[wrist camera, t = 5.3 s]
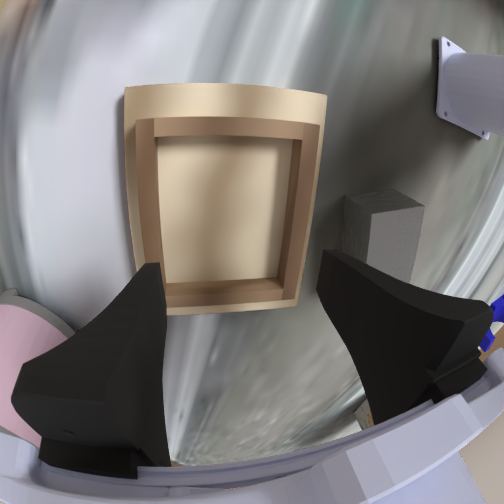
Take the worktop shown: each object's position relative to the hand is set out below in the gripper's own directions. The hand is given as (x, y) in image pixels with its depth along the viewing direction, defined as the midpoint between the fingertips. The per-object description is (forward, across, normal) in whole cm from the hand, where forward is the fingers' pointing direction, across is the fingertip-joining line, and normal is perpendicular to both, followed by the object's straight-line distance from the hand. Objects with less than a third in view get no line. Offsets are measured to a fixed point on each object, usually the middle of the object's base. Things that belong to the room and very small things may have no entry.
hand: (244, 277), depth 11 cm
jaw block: (+9, -12, +2) cm, 15 cm away
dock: (+8, 0, 0) cm, 8 cm away
